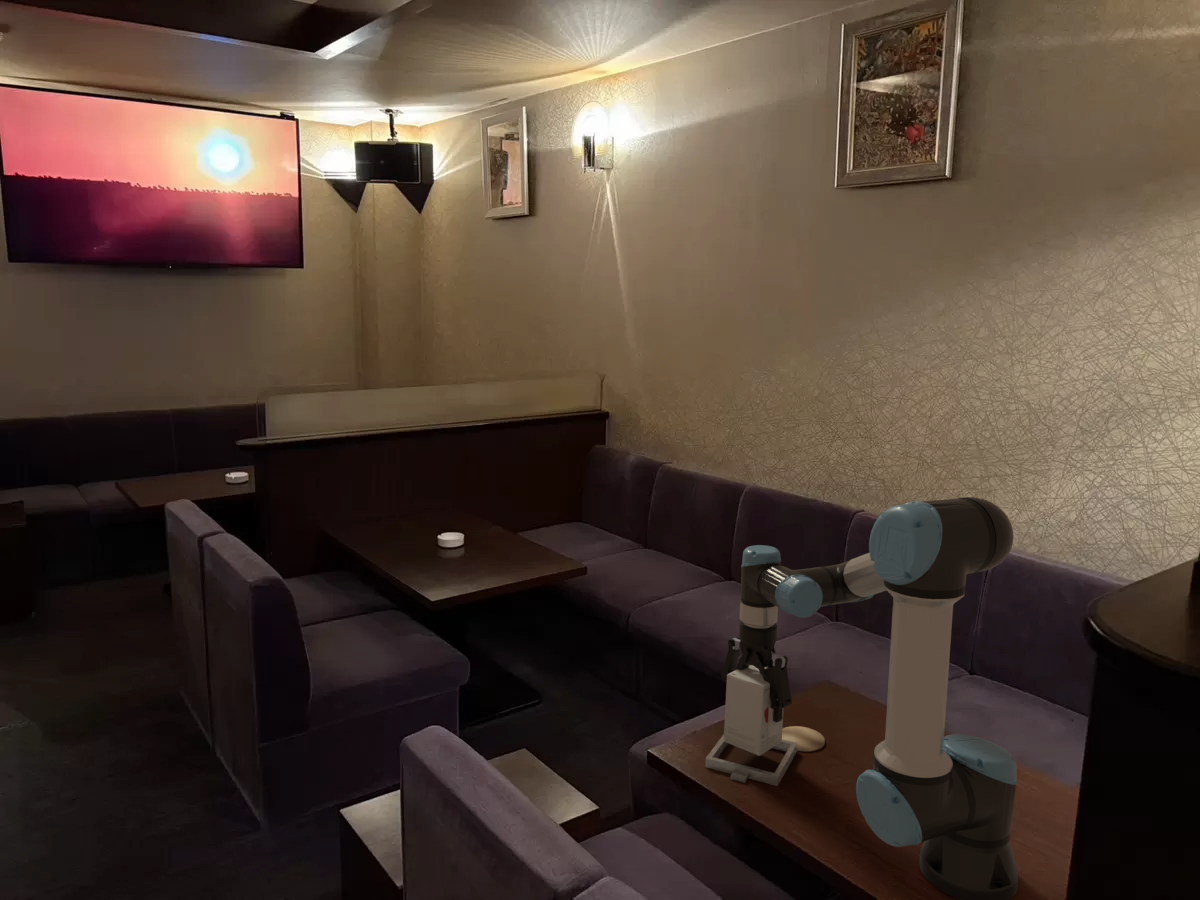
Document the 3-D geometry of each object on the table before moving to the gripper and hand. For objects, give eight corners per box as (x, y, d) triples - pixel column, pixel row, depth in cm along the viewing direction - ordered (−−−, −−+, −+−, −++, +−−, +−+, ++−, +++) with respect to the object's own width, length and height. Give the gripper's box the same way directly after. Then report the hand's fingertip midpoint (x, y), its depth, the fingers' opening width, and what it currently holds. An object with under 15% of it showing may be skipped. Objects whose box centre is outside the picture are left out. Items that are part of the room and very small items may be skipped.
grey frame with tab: (774, 791, 170) (775, 781, 170) (701, 771, 177) (702, 762, 177) (799, 747, 187) (799, 738, 187) (731, 731, 194) (732, 722, 193)
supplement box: (759, 757, 175) (763, 687, 172) (722, 742, 181) (725, 673, 178) (783, 741, 182) (786, 673, 179) (746, 727, 188) (749, 660, 185)
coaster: (818, 755, 184) (818, 753, 184) (771, 744, 188) (772, 742, 188) (829, 735, 193) (829, 732, 193) (784, 724, 197) (784, 722, 197)
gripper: (814, 633, 171) (808, 740, 175) (730, 603, 188) (726, 701, 191) (790, 642, 166) (784, 752, 170) (705, 610, 183) (702, 711, 187)
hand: (753, 725), depth 181 cm, fingers closed on supplement box, 9 cm apart
